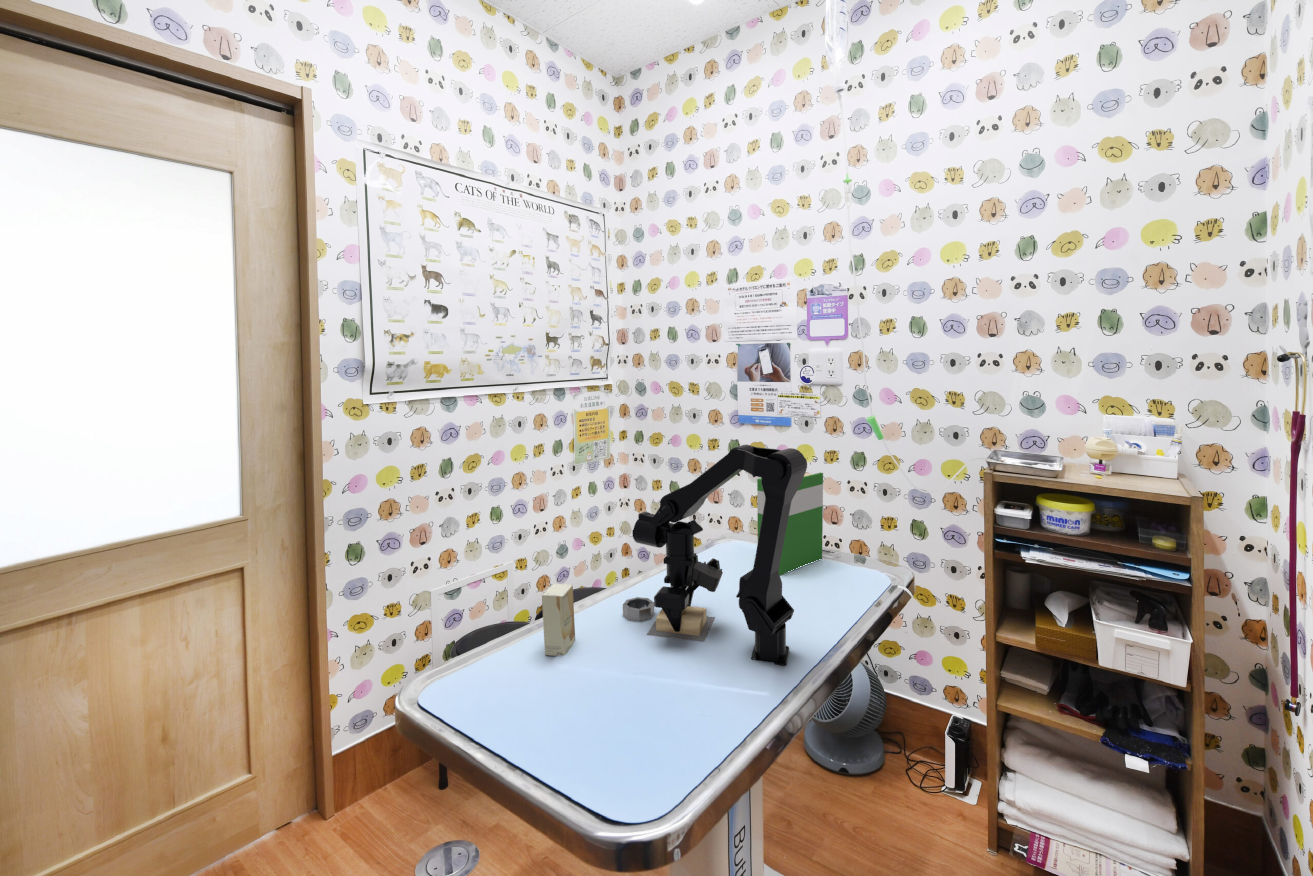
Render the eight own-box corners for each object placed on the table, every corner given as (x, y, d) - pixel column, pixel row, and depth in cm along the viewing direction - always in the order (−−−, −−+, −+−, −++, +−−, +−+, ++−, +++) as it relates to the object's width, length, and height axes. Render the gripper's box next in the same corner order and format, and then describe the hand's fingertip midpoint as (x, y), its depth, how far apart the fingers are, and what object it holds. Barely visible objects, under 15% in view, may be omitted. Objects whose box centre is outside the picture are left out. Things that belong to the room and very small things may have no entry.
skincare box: (565, 657, 113) (562, 596, 111) (544, 656, 113) (540, 595, 112) (576, 641, 119) (573, 583, 117) (556, 640, 120) (553, 582, 118)
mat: (704, 643, 116) (704, 641, 116) (646, 637, 120) (646, 634, 120) (715, 619, 127) (715, 617, 127) (661, 613, 130) (661, 611, 130)
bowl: (648, 624, 125) (647, 611, 125) (620, 621, 127) (619, 608, 127) (657, 611, 131) (656, 599, 131) (629, 609, 133) (629, 596, 133)
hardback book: (800, 552, 167) (800, 469, 163) (822, 559, 161) (823, 473, 157) (757, 568, 156) (757, 479, 152) (779, 575, 150) (779, 483, 147)
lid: (699, 635, 118) (698, 620, 118) (656, 631, 121) (655, 615, 121) (706, 620, 125) (706, 605, 125) (665, 616, 128) (665, 601, 127)
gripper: (709, 570, 110) (710, 649, 112) (727, 539, 127) (727, 608, 130) (652, 566, 113) (654, 642, 115) (677, 536, 131) (678, 603, 133)
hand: (681, 623), depth 123 cm, fingers closed on lid, 7 cm apart
